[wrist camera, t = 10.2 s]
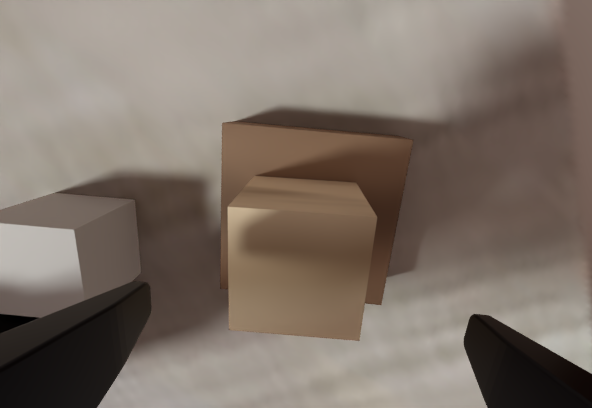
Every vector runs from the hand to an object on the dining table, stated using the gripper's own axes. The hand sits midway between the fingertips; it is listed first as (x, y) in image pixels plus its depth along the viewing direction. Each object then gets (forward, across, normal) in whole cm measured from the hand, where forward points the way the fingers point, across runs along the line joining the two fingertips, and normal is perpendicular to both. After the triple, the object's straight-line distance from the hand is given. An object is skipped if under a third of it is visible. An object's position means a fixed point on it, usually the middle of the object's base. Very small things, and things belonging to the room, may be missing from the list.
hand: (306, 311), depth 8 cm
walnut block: (+10, 0, 0) cm, 10 cm away
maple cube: (+7, 0, 0) cm, 7 cm away
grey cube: (+10, +13, +3) cm, 17 cm away
